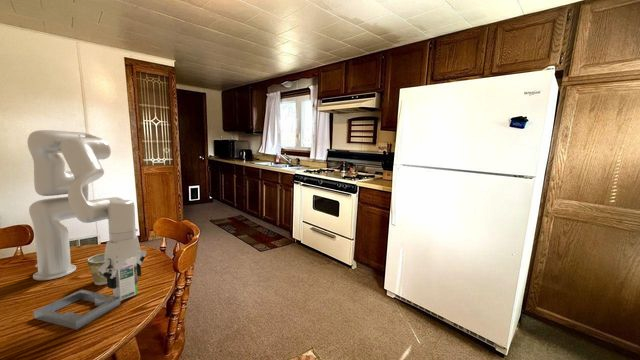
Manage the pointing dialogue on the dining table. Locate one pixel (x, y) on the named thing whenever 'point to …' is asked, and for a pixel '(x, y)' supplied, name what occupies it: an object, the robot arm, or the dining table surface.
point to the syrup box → (126, 280)
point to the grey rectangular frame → (75, 319)
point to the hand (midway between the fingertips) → (125, 281)
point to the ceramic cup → (94, 265)
